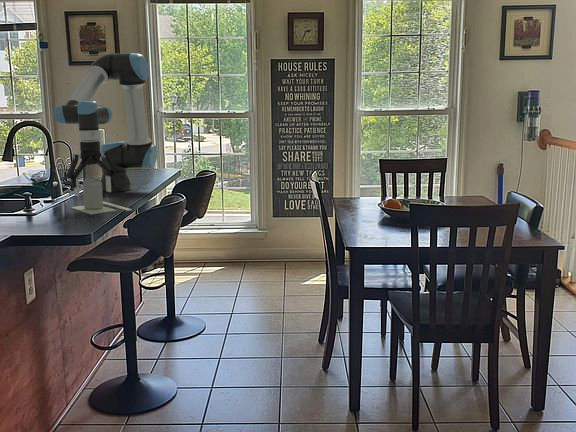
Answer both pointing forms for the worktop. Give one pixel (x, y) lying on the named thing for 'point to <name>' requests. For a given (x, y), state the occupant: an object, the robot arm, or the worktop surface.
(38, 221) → the worktop surface
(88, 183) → the can
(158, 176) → the worktop surface
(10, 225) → the worktop surface
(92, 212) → the mat
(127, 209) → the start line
